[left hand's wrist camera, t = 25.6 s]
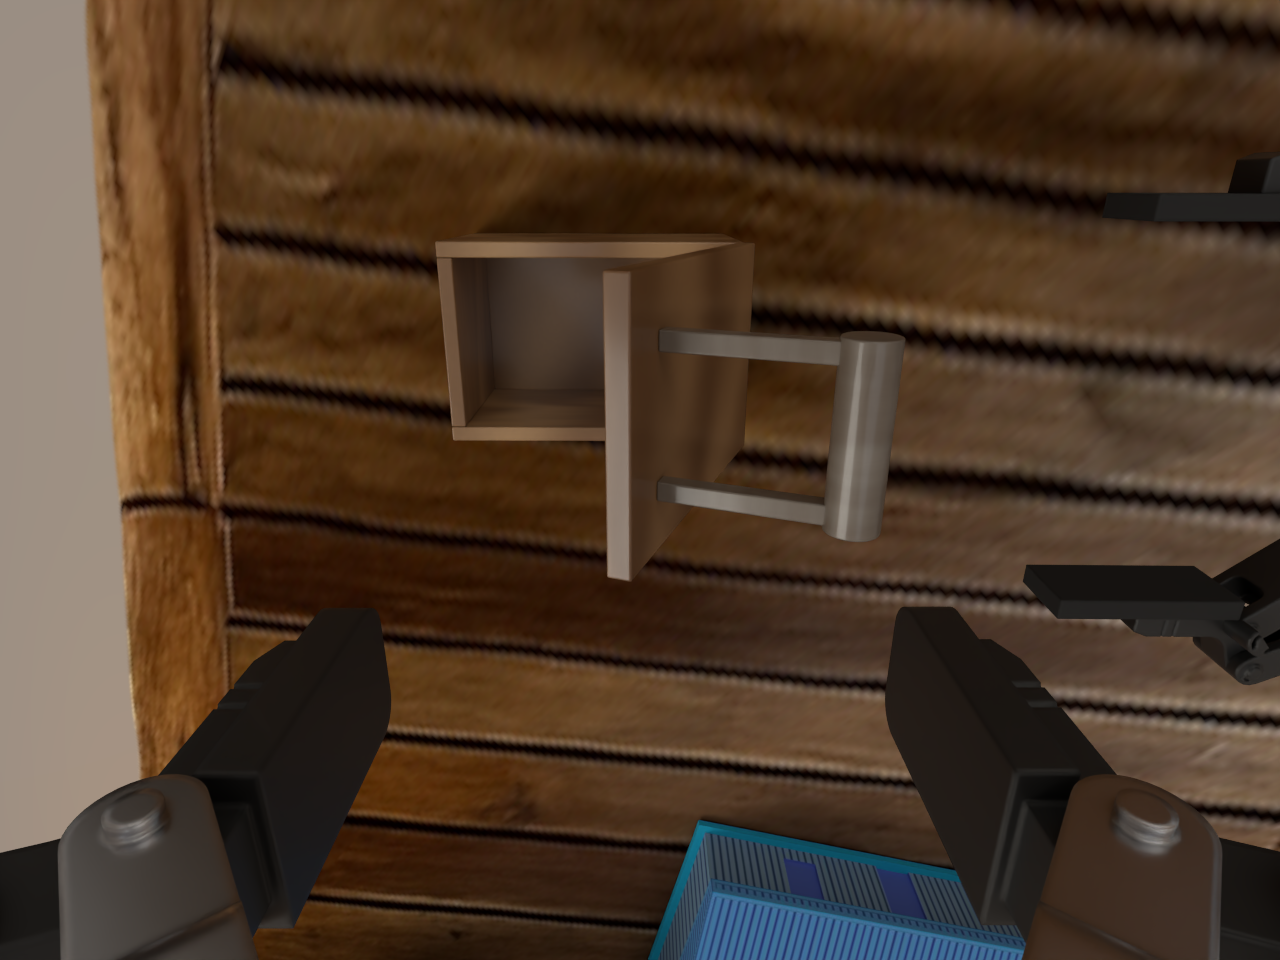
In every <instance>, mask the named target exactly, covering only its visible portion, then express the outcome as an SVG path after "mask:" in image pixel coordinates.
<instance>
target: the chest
mask: <svg viewBox="0 0 1280 960" xmlns="http://www.w3.org/2000/svg"><path fill="white" fill-rule="evenodd" d="M734 243H744V242H741V241H739V240H737V239H734V238H732V237H729V236H727V235H725V234H575V233H474V234H470V235H465V236H460V237H455V238H450V239H445V240H440V241H436V243H435V245H436V256H437V257H438V258H437V267H438V278H439V289H440V300H441V311H442V322H443V333H444V344H445V355H446V366H447V377H448V388H449V399H450V410H451V421H452V426H453V427H452V432H453V440H502V441H605V395H604V328H603V271H604V270H606V269H611V268H616V267H621V266H626V265H631V264H636V263H641V262H646V261H650V260H655V259H660V258H665V257H670V256H675V255H680V254H685V253H690V252H695V251H699V250H704V249H709V248H714V247H719V246H724V245H729V244H734Z"/></svg>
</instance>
